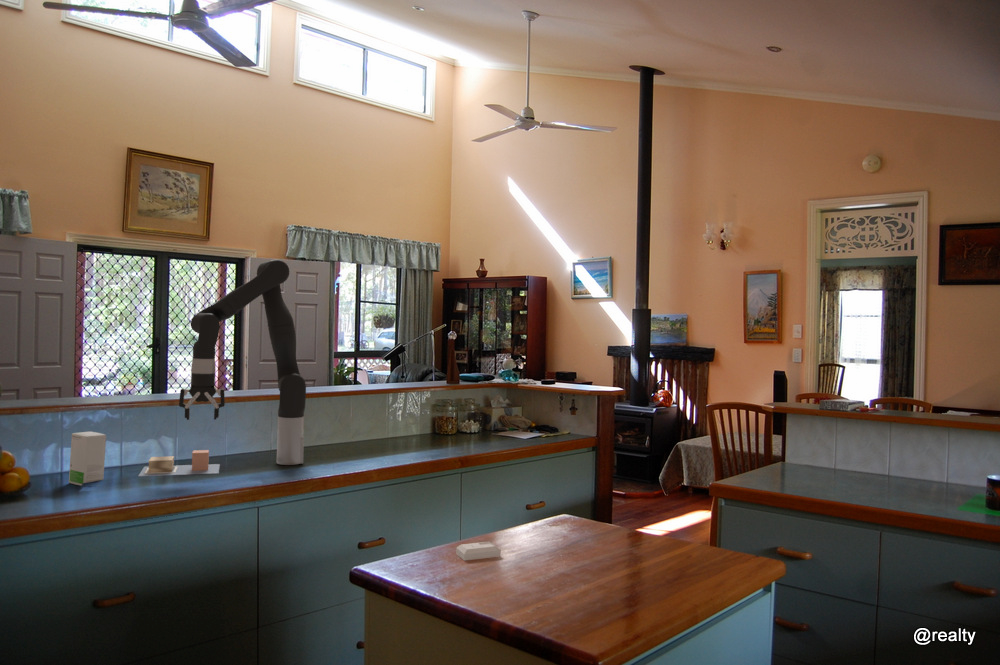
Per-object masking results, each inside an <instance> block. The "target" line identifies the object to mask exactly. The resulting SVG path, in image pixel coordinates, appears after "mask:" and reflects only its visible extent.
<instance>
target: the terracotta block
mask: <svg viewBox="0 0 1000 665" xmlns="http://www.w3.org/2000/svg"><path fill="white" fill-rule="evenodd" d="M191 453H192V454H191V455H192V456H191V465H192V471H203V470H208V467H209V461H210V460H209V459H210V450H209V449H199V450H192V452H191Z"/></svg>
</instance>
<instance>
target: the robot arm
mask: <svg viewBox="0 0 1000 665" xmlns="http://www.w3.org/2000/svg"><path fill="white" fill-rule="evenodd" d="M289 276H290V268H289V265H288V264H287V263H286V262H285V261H283V260H281V259H272V260H267V261H263V262H262V263H260V264H259V265H258V267H257V269H256V276H255V277H254V278H252V279H251V280H249V281H247V282H245V283H243V284H242V285H240V286H239V287H237V288H235V289H233V290H231V291H230V292H228V293H226V294H225V295H224V296H223V297H221V298H220V299H218V301H216V302H214V303H213V304H211V305H209V306H207V307H206V308H204V309H202V310H201V311H199V312H197V313H195V314H194V316H193V317H192V318H191V321H190V327H191V330H192V331H193V332H195V333H197V334H198V335H197V336H198V337H197V340H196V341H195V342H194V343H193V346H192V361H191V362H192V363H191V369H190V371H191V372H190V389H188V388H181V389H180V391H179V401H178V406H179V407H180V408H183V409H184V419H186V421H189V420H190V411H191V410H190V409H191V408H190V406H192V404H194V402H197V403H201V402H204V403H207V402H210V403H211V405H213V407H214V409H213V410H214V411H213V412H214V414H213V420H217V419H219V415H220V412H219V411H220V408H223V407H225V405H226V403H225V402H226V401H225V400H226V398H225V388H219V389H216V387H215V386H216V345H217V342H218V338H219V334H220V328H221V325H220V324H221V323H220V322H222V321H225V320H228V319H230V318H232V317H233V316H235V315H236V314H238V313H239V312H240V311H241V310H243V309H244V308H245V307H247V306H248V305H249V304H251V302H252V301H254V300H256V299H257V298H259V297H260V296H261V295H262V299H263V304H264V310H265V316H266V322H267V328H268V329H267V330H268V334H269V340H270V344H271V349H272V352H273V354H274V358H275V363H276V372H277V387H278V390H279V404H278V410H277V433H276V434H277V435H276V436H277V437H276V438H277V439H276V440H277V442H276V464H277V465H281V466H282V465H285V466H289V465H291V466H292V465H294V466H295V465H299V464H300V465H301V464H302V465H303V464H304V448H305V447H304V445H305V444H304V443H305V439H304V429H305V428H304V427H305V426H304V423H305V411H306V410H305V409H306V399H307V398H306V395H307V384H306V380H305V378H304V377H303V376H301V373H300V369H299V366H298V361H297V337H296V334H297V333H296V326H295V324H294V318H293V316H292V314H291V312H290V310H289V308H288V307H287V305H286V303H285V301H284V299H283V295H282V289H281V284H283V283H284V282H286V281H287V280H288V278H289ZM188 393H189V395H190V396H191V398H190V400H189V401H188V402H187V403H184V402H185V396H187V395H188ZM216 394H218V395H217V396H220V403H218V402H217V400H216V399H215V398H214V396H215V395H216Z"/></svg>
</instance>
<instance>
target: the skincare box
mask: <svg viewBox="0 0 1000 665" xmlns="http://www.w3.org/2000/svg"><path fill="white" fill-rule="evenodd" d="M70 440H71V443H70V458H69V470H68V471H69V473H68V475H69V476H68V483H69V484H73V485H76V486H83V484H84V483H85V484H87V483H92V482H98V481H103V480H104V475H105V474H104V473H105V460H106V445H107V434H104V433H101V432H95V431H92V430H91V431H90V430H89V431H83V432H82V431H81V432H73V433H71V439H70ZM83 487H86V486H83Z"/></svg>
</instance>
